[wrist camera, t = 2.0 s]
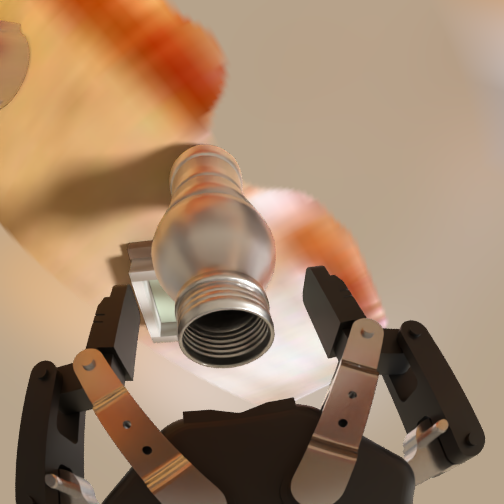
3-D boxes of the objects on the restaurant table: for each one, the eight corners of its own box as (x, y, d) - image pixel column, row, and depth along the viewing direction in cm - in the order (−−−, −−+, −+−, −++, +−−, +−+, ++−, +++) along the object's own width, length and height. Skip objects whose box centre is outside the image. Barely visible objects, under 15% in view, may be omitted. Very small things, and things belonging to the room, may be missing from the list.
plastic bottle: (192, 214, 28) (202, 398, 12) (158, 160, 25) (99, 319, 8) (249, 185, 28) (328, 349, 12) (218, 127, 24) (275, 231, 8)
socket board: (129, 243, 29) (122, 262, 26) (236, 232, 31) (242, 250, 28) (155, 328, 36) (153, 349, 33) (239, 320, 38) (244, 340, 35)
